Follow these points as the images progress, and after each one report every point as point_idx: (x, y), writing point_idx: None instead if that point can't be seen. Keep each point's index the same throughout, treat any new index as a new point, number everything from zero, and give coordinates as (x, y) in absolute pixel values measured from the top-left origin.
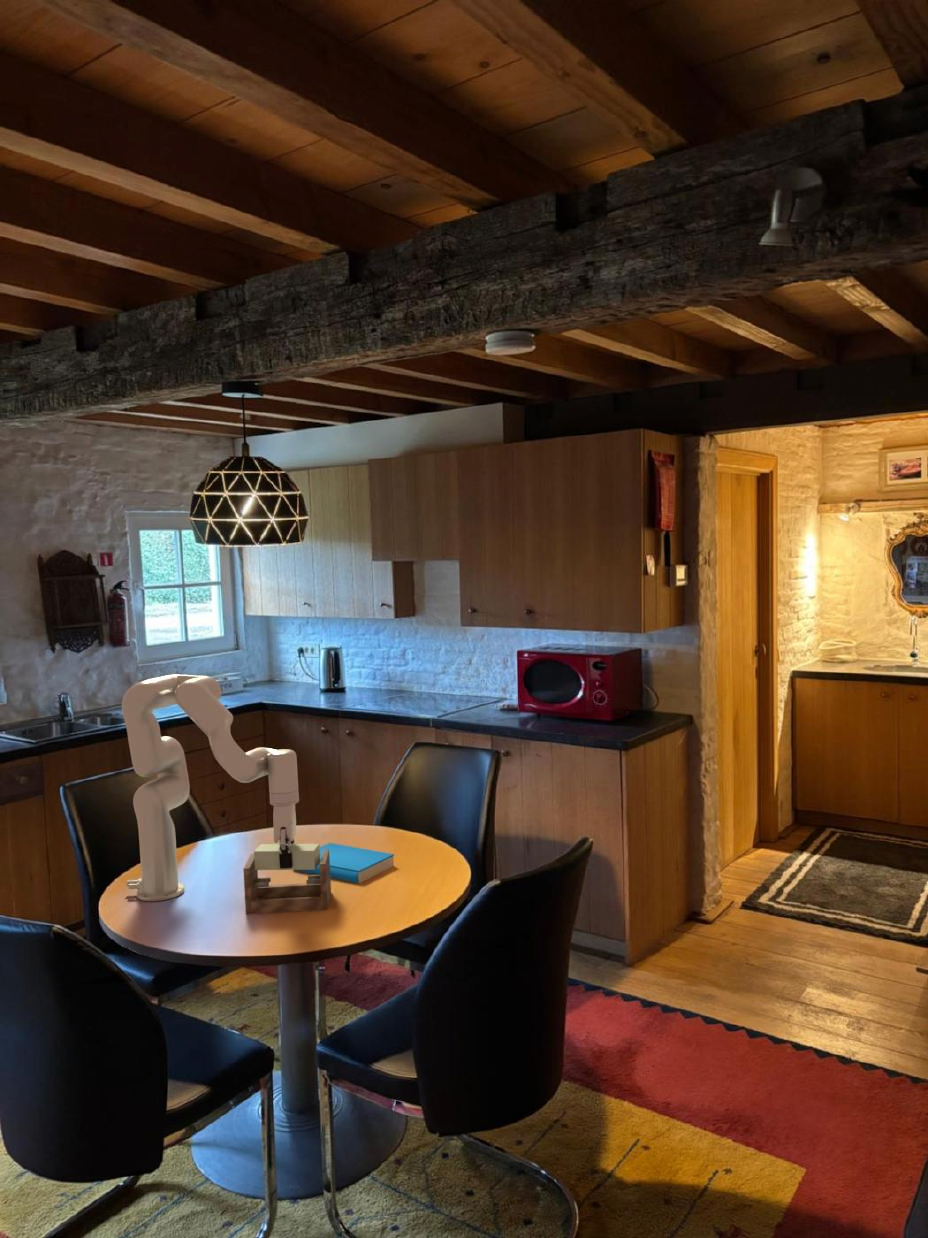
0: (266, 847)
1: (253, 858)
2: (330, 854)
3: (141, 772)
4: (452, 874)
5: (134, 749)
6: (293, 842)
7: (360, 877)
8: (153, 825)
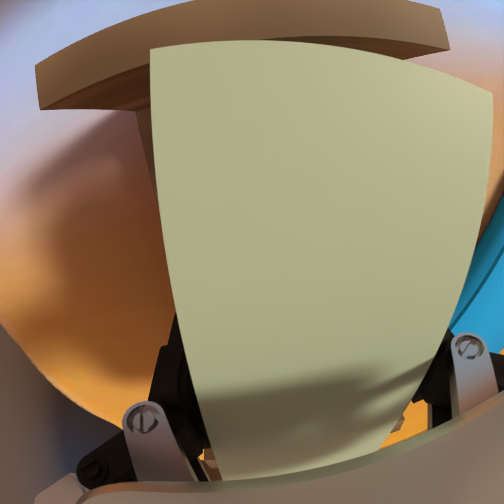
0: (370, 206)
1: (328, 29)
2: None
3: None
4: (383, 443)
5: None
6: (428, 405)
7: None
8: None
